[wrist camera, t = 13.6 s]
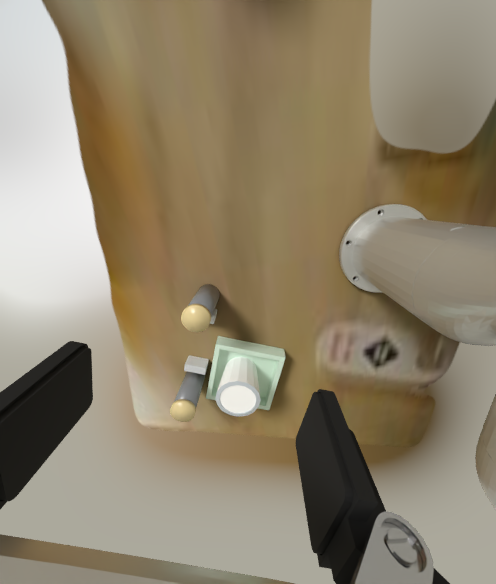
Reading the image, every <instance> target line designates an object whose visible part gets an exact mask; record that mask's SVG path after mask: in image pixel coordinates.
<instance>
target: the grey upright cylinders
mask: <svg viewBox="0 0 496 584" xmlns="http://www.w3.org/2000/svg"><path fill="white" fill-rule="evenodd" d="M219 297H220V294H219V291H218V289H217V288H216V287H215V286H213V285H210V284H206V285H203V286H202V287H200V289H199V290H198V292H197V293H196V295H195V296H194V298H193V299H192V301H191V302H190V304H189V305H188V306H187V307H186V308H185V310H184V311H183V313H182V316H181V320H182V323H183V325H184V326H185V328H187V329H188V330H190V331H192V332H202V331H204V330H206V329H207V328H208V326H209V324H210V323H211V324H214V322H215V319H216V316H217V309H215V307H216V305H217V302H218V300H219ZM208 361H209V359H205V358H200V357H195V356H190V355H189V356H188V359H187V361H186V363H185V368H184V371H187V372H186V375H185V377H184V380H183V382H182V384H181V387H180V389H179V392H178V394H177V396H176V399H175V401H174V403H173V404H172V407H171V409H170V414H171V416H172V417H173V418H174V419H175V420H177V421H180V422H188V421H190V420H192V419H193V418H194V415H195V412H196V406H197V403H198V400H199V396H200V393H201V390H202V386H203V383H204V380H205V376H206V369H207V366H208Z"/></svg>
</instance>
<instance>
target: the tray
mask: <svg viewBox="0 0 496 584" xmlns="http://www.w3.org/2000/svg"><path fill="white" fill-rule="evenodd" d="M235 357H245V358H248V359H250V360H251V361H253V363H254V364H255V365H256V370H257V377H258V384H259V392H260V400H261V401H260V404H259V407H258V408H259V409H264V410H269V409H270V406H271V403H272V400H273V396H274V393H275V390H276V387H277V383H278V380H279V377H280V374H281V371H282V367H283V364H284V361H285V352H284V349H281V348H276V347H271V346H266V345H261V344H256V343H251V342H246V341H241V340H236V339H231V338H226V337H221V336H218V339H217V342H216V346H215V352H214V357H213V362H212V368H211V373H210V379H209V384H208V390H207V395H206V399H211V400H216V399H215V398H216V393H217V390H218V387H219V384H220V381H221V378H222V375H223V372H224V370H225V367H226V364H227V363H228V362H229V360H231V359H233V358H235Z"/></svg>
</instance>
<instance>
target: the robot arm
mask: <svg viewBox="0 0 496 584" xmlns="http://www.w3.org/2000/svg"><path fill="white" fill-rule="evenodd" d="M378 211H380V213H379V214H378ZM347 241H349V242H348V244H346V242H347ZM339 260H340V265H341V268H342V271H343V273H344V274H345V276H346V277H347V279H348V280H349V281H350V282H351V283H353V284H354V285H355V286H357V287H358V288H360V289H363V290H365V291H369V292H377V293H382V292H383V293H385V294H386V295H387V296H389V297H390V298H391V299H393V300H394V301H396V302H397V303H398V304H400V305H401V306H402V307H404V308H405V309H406V310H408V311H409V312H411V313H412V314H413V315H415V316H416V317H417V318H419V319H420V320H422V321H423V322H424V323H426V324H428V325H429V326H430V327H432V328H433V329H435V330H436V331H437V332H439V333H441V334H442V335H444V336H446V337H448V338H450V339H453V340H455V341H459V342H462V343H466V344H472V345H485V346H493V345H496V227H486V226H476V225H467V224H458V223H449V222H440V221H431V220H427V219H426V218H425V217H424V216H423V215H422V214H421V213H420V212H419V211H417V210H416V209H414V208H412V207H409V206H406V205H399V204H387V205H382V206H378V207H375V208H372V209H370V210H368V211H367V212H365V213H363V214H362V215H361V216H359V217H358V218H357V219H356V220H355V221H354V222H353V223H352V224H351V225H350V226H349V228H348V229H347V231H346V233H345V234H344V237H343V239H342V242H341V245H340V250H339ZM354 276H355V278H353V277H354ZM92 400H93V393H92V361H91V349H90V348H88V346H87V344H84V343H79V342H74V341H70V342H68V343H66V344H65V345H64V346H63V347H61V348H60V349H58V350H57V351H56V352H54V353H53V354H52V355H51V356H49V357H48V358H46V359H45V360H44V361H42V362H41V363H40V364H38V365H37V366H36V367H34V368H33V369H31V370H30V371H29V372H28V373H26V374H25V375H23V376H22V377H21V378H19V379H18V380H17V381H15V382H14V383H13V384H11V385H10V386H9V387H7V388H6V389H5V390H3V391H2V392H0V509H1V508H2V507H3V506H4V504H5V503H6V502H7V501H11V500H12V499H14V498H15V497H16V496H17V495H18V494H19V492H20V491H21V490H22V489H23V488H24V486H25V485H26V484H27V483H28V482H29V480H30V479H31V478H32V477H33V475H34V474H35V473H36V472H37V471H38V469H39V468H40V467H41V466H42V464H43V463H44V462H45V460H47V458H48V457H49V456H50V455H51V453H52V452H53V451H54V450H55V449H56V447H57V446H58V445H59V444H60V442H61V441H62V440H63V439H64V437H65V436H66V435H67V434H68V433H69V432H70V430H71V429H72V428H73V427H74V425H75V424H76V423H77V422H78V420H79V419H80V418H81V417H82V415H83V414H84V413H85V412H86V411H87V410H88V408H89V407H90V405H91V403H92ZM296 449H297V456H298V462H299V469H300V476H301V482H302V489H303V495H304V502H305V508H306V515H307V521H308V527H309V534H310V540H311V546H312V550H313V552H314V553H317V555H318V561H319V567H324V568H330V569H332V574H333V579H334V581H335V583H336V584H450V583H449V582H447V580H446V579H445V578H443V576H441V575H440V574H439V573H438V572H437V571H436V570H435V569H434V568H433V560H432V557H431V554H430V551H429V549H428V547H427V545H426V543H425V541H424V539H423V538H422V537H421V536H420V534H419V533H418V531H417V530H416V529H415V528H414V527H413V526H412V525H411V524H410V523H409V522H408V521H407V520H405V519H404V518H402V517H401V516H399V515H397V514H394V513H392V512H386V510H385V508H384V505H383V503H382V501H381V498H380V496H379V493H378V491H377V488H376V486H375V484H374V481H373V479H372V476H371V474H370V472H369V469H368V467H367V464H366V462H365V460H364V457H363V454H362V452H361V450H360V447H359V445H358V442H357V440H356V438H355V435H354V433H353V432H352V431H351V430H350V429H349V428H348V426H347V423H346V421H345V418H344V416H343V413H342V411H341V408H340V406H339V403H338V401H337V398H336V396H335V394H334V392H332V391H327V390H322V389H319V390H318V392H314V393H313V395H312V398H311V400H310V403H309V405H308V408H307V411H306V413H305V416H304V418H303V421H302V424H301V426H300V429H299V431H298V434H297V437H296ZM476 469H477V474H478V477H479V480H480V483H481V486H482V488H483V490H484V492H485V494H486V495H487V497H488V499H489V500H490V502H491V503H492V505H493V506H494V508H495V509H496V395H495V397H494V400H493V402H492V405H491V407H490V410H489V413H488V415H487V418H486V420H485V423H484V425H483V429H482V432H481V434H480V437H479V441H478V445H477V449H476ZM0 584H294V583H289V582H283V581H278V580H273V579H268V578H262V577H256V576H250V575H245V574H238V573H232V572H227V571H221V570H215V569H209V568H204V567H198V566H192V565H186V564H180V563H174V562H168V561H162V560H155V559H149V558H143V557H137V556H131V555H125V554H119V553H113V552H107V551H100V550H95V549H89V548H82V547H76V546H70V545H63V544H56V543H50V542H44V541H38V540H32V539H25V538H19V537H13V536H6V535H0Z"/></svg>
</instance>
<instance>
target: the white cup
mask: <svg viewBox="0 0 496 584" xmlns="http://www.w3.org/2000/svg"><path fill="white" fill-rule="evenodd" d="M215 399H216V402H217V405H218V406H219V408H220V409H221V410H222V411H223V412H225V413H227V414H229V415H233V416H247V415H249V414H251V413H253V412H254V411H255V410H256V409H257V408H258V407H259V404H260V401H261V400H260V392H259V384H258V377H257V370H256V365H255V364H254V363H253V361H251V360H250V359H248V358H245V357H235V358H233V359H231V360H229V362H228V363H227V364H226V367H225V370H224V372H223V375H222V378H221V381H220V384H219V387H218V390H217V393H216V398H215Z"/></svg>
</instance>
